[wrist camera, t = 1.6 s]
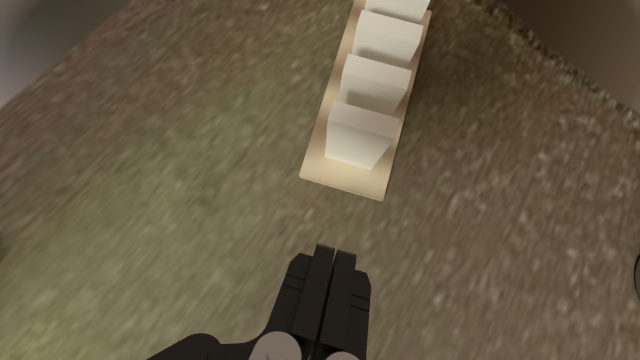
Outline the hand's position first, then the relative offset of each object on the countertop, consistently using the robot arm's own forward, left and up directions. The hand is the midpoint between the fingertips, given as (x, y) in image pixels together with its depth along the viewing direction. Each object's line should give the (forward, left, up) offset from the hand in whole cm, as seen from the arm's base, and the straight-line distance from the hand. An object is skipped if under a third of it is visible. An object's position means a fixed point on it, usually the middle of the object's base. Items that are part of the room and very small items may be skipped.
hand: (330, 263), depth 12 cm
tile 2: (+4, -13, -19) cm, 23 cm away
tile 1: (+3, -10, -19) cm, 21 cm away
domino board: (+5, -17, -20) cm, 27 cm away
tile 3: (+5, -17, -19) cm, 26 cm away
